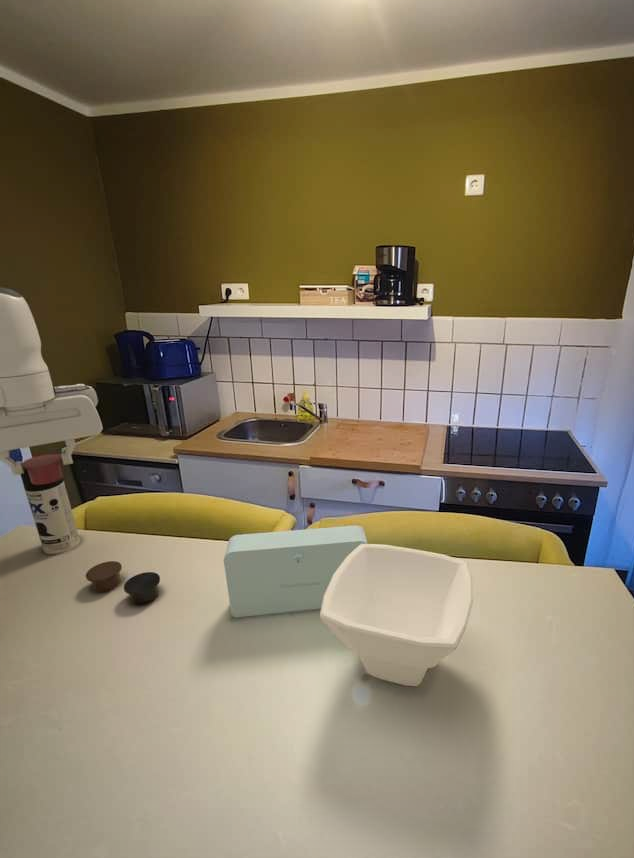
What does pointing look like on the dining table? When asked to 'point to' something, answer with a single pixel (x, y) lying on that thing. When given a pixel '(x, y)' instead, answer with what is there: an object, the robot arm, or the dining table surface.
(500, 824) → the dining table surface
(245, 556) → the mint green box
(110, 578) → the pod brown
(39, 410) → the robot arm
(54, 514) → the spray can
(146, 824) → the dining table surface
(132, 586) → the pod black
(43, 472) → the pod burgundy
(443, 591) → the bowl
